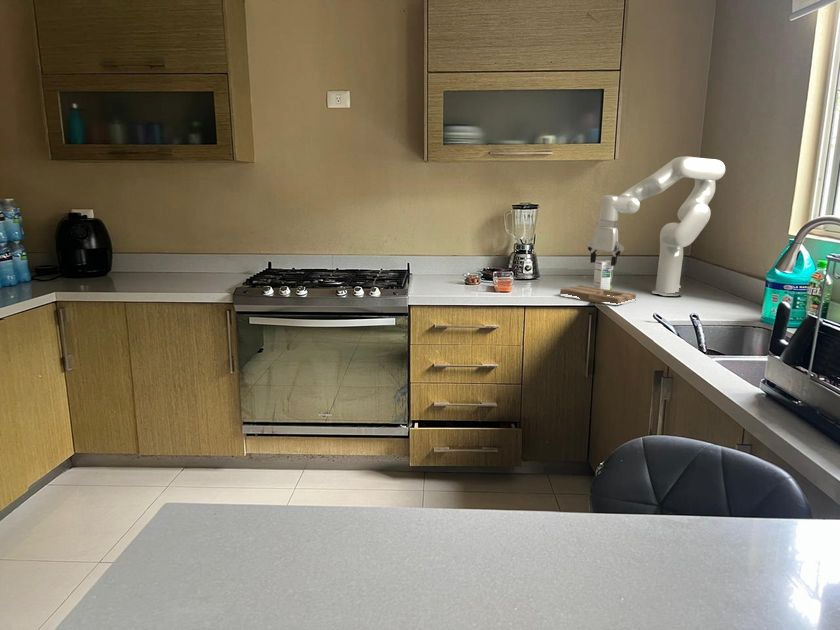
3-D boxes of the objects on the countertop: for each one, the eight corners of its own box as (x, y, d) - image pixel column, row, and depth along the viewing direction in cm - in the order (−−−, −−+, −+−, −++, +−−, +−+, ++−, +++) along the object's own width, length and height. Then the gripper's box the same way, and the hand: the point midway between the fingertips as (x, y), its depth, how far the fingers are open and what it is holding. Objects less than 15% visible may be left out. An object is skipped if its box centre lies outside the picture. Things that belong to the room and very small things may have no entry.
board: (579, 292, 273) (580, 285, 272) (635, 301, 255) (636, 294, 254) (560, 296, 261) (560, 289, 261) (616, 306, 244) (617, 299, 243)
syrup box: (599, 294, 267) (602, 261, 264) (592, 292, 273) (595, 259, 269) (611, 294, 269) (614, 261, 265) (603, 292, 274) (606, 259, 271)
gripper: (585, 222, 267) (580, 261, 271) (622, 226, 255) (617, 267, 259) (594, 222, 272) (589, 260, 276) (630, 226, 261) (625, 266, 264)
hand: (602, 264), depth 268 cm, fingers open, 9 cm apart
